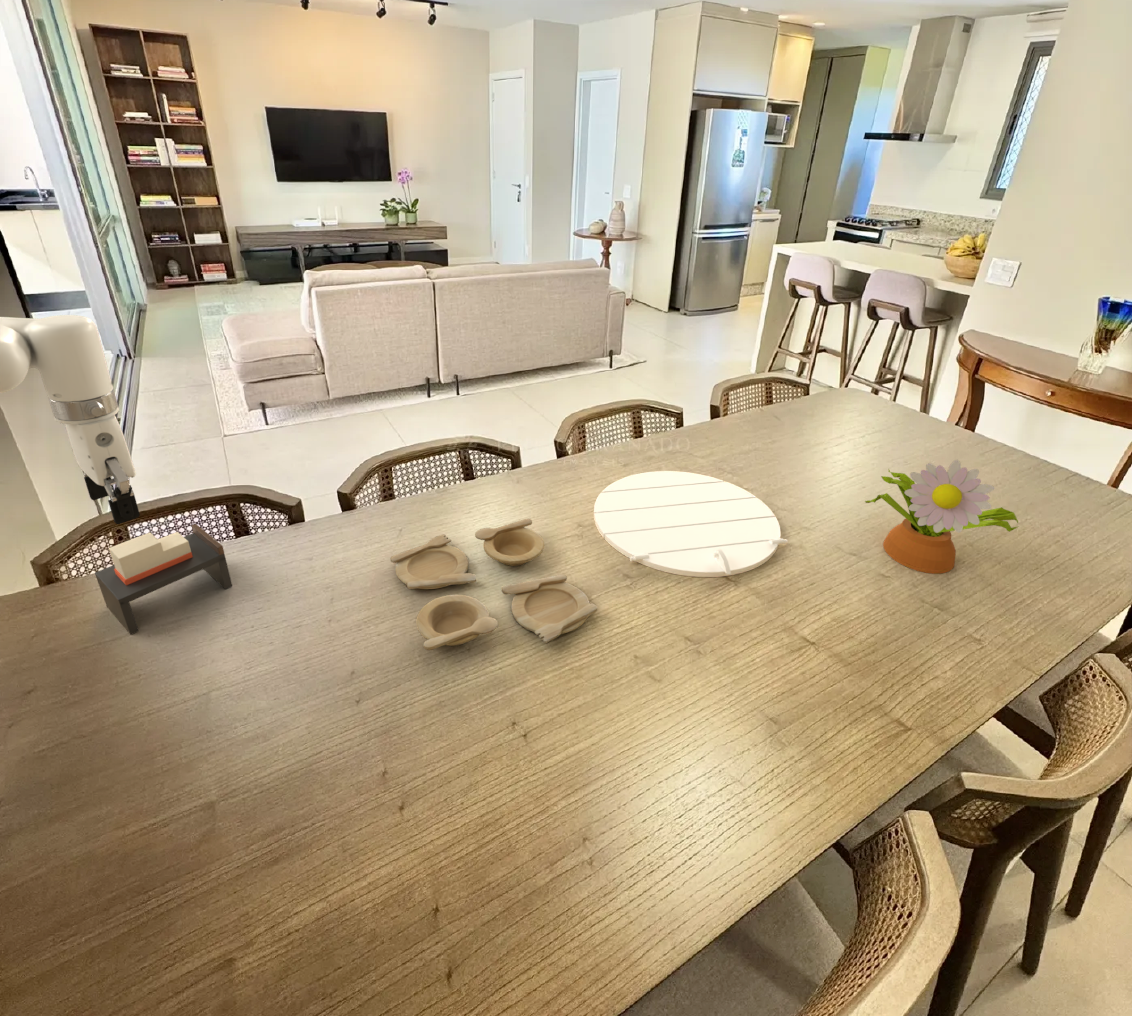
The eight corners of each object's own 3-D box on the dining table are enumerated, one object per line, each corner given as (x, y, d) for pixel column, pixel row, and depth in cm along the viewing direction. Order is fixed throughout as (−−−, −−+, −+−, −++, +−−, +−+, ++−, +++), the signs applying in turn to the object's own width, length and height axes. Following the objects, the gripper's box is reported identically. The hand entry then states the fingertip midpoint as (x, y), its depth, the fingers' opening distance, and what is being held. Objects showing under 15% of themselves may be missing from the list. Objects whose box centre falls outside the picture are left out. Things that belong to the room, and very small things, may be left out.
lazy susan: (820, 567, 122) (824, 552, 121) (628, 591, 114) (629, 576, 112) (727, 469, 157) (729, 457, 156) (574, 482, 148) (575, 469, 147)
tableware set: (608, 631, 104) (610, 612, 103) (433, 687, 93) (431, 666, 91) (527, 522, 132) (527, 505, 131) (385, 554, 121) (383, 536, 119)
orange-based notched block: (126, 585, 99) (117, 559, 97) (115, 573, 102) (106, 548, 100) (192, 557, 106) (186, 532, 104) (181, 546, 109) (174, 522, 107)
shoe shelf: (130, 635, 100) (115, 591, 96) (106, 606, 105) (91, 564, 101) (232, 586, 111) (222, 545, 107) (206, 562, 116) (195, 523, 113)
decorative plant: (849, 565, 123) (883, 450, 112) (855, 507, 143) (884, 405, 132) (1009, 608, 114) (1063, 487, 103) (992, 539, 134) (1036, 432, 122)
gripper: (139, 414, 88) (165, 519, 95) (93, 382, 97) (120, 480, 105) (74, 430, 82) (108, 540, 90) (33, 394, 92) (66, 496, 99)
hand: (115, 508), depth 97 cm, fingers open, 9 cm apart
